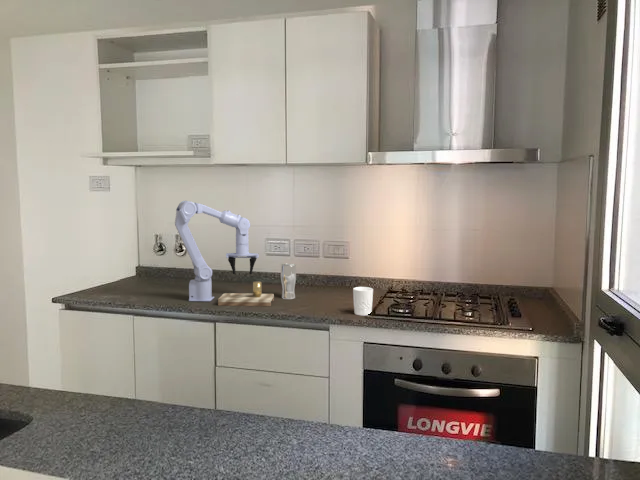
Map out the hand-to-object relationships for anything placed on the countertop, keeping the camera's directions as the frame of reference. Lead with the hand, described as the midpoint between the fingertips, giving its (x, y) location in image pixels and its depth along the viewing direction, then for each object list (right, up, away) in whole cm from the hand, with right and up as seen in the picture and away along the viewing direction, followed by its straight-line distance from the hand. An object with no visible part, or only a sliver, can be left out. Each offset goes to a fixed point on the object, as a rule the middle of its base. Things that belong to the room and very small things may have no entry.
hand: (242, 273), depth 237 cm
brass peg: (+8, -12, -12) cm, 19 cm away
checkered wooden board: (+4, -12, -12) cm, 17 cm away
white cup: (+52, -14, -30) cm, 62 cm away
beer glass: (+21, -11, -2) cm, 24 cm away
